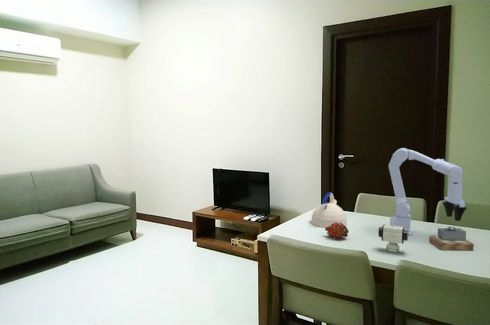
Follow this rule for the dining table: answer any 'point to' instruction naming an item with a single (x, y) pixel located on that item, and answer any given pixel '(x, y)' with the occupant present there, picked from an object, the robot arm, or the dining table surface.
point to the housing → (451, 234)
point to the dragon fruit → (337, 230)
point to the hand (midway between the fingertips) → (453, 218)
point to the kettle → (328, 213)
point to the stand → (451, 244)
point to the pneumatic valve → (393, 236)
